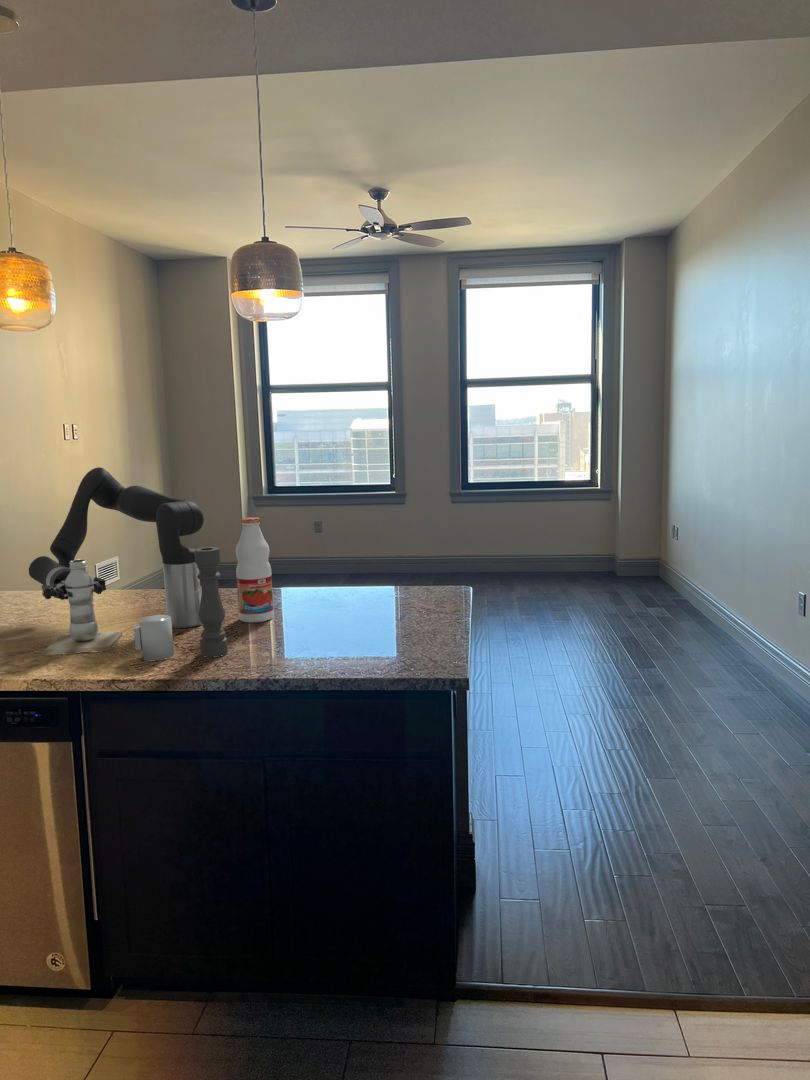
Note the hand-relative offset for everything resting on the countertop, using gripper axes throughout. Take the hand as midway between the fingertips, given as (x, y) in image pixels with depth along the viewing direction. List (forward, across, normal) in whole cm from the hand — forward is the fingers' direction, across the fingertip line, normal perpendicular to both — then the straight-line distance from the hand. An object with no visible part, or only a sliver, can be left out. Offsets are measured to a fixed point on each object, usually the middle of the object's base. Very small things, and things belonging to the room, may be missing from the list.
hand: (81, 592), depth 183 cm
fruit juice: (+5, +44, +14) cm, 46 cm away
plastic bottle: (-2, 0, +13) cm, 13 cm away
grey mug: (+20, +11, +14) cm, 26 cm away
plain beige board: (-2, 0, +14) cm, 14 cm away
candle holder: (+27, +22, +14) cm, 37 cm away
